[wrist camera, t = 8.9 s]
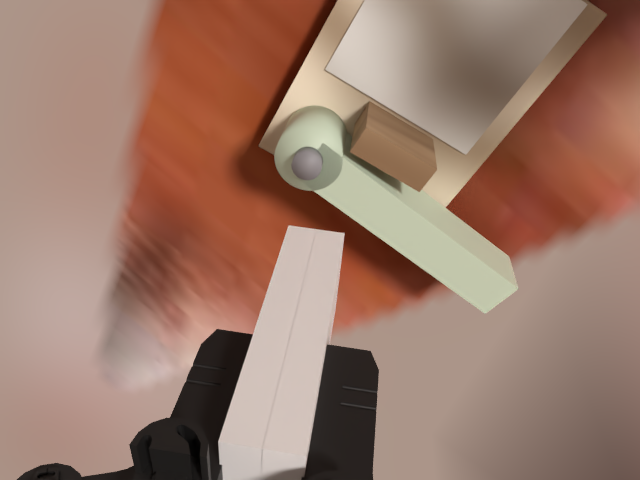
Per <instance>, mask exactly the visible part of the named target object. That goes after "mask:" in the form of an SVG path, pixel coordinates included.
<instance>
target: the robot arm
mask: <svg viewBox="0 0 640 480" xmlns="http://www.w3.org/2000/svg"><path fill="white" fill-rule="evenodd" d="M344 235H345V233H340V232H333V231H325V230H318V229H311V228H304V227H296V226H288V229H287V232H286V235H285V238H284V241H283V244H282V247H281V250H280V253H279V256H278V259H277V263H276V266H275V269H274V272H273V275H272V278H271V281H270V284H269V287H268V290H267V293H266V296H265V299H264V302H263V306H262V309H261V312H260V315H259V318H258V321H257V324H256V327H255V330H254V333H253V334H246V333H239V332H233V331H226V330H220V329H217V330H216V331H215V332H214V333H213V334H211V335H210V336H209V337H208V338H207V339H206V340H205V341H204V342H203V343H202V344H201V346H200V348H199V351H198V353H197V355H196V358H195V360H194V363H193V367H191V370H190V372H189V374H188V377H187V381H186V382H185V384H184V386H183V388H182V391H181V393H180V396H179V398H178V401H177V403H176V405H175V408H174V410H173V412H172V414H171V417H170V418H165V419H162V420H159V421H156V422H153V423H151V424H149V425H148V426H146V427H145V428H144V429H142V430H141V431H140V432H138V434H137V435H136V436H135V438H134V439H133V441H132V442H131V443H130V449H131V454H132V459H133V463H134V466H132V467H130V468H128V469H125V470H121V471H117V472H111V473H105V474H99V475H91V476H85V477H81V475H80V473H78V472H77V471H76V470H75V469H74V468H72V467H71V466H68V465H63V464H59V463H54V464H47V465H41V466H39V467H36V468H34V469H32V470H30V471H28V472H25V473H24V474H23V475H22V476H20V477H19V478H18V479H17V480H373V474H372V473H373V456H374V455H373V454H374V439H375V423H376V406H377V390H378V373H379V370H378V367H377V365H376V363H375V361H374V358H373V356H372V353H371V351H367V350H360V349H354V348H347V347H341V346H334V345H330V339H331V333H332V327H333V321H334V315H335V309H336V301H337V292H338V284H339V276H340V268H341V260H342V251H343V243H344Z"/></svg>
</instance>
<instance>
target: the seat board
mask: <svg viewBox="0 0 640 480" xmlns="http://www.w3.org/2000/svg"><path fill="white" fill-rule="evenodd" d="M606 16H607V14H606V13H605V12H603V11H602V10H600V9H599V8H597V7H596V6H595V5H593V4H592V3H590V2H589V1H588V0H337V2H336V4H335V5H334V7H333V9H332V11H331V13H330V15H329V17H328V18H327V20H326V22H325V24H324V26H323V28H322V29H321V31H320V33H319V35H318V37H317V39H316V40H315V42H314V44H313V46H312V48H311V50H310V51H309V53H308V55H307V57H306V59H305V61H304V62H303V64H302V66H301V68H300V70H299V72H298V73H297V75H296V77H295V79H294V81H293V83H292V84H291V86H290V88H289V90H288V92H287V94H286V95H285V97H284V99H283V101H282V103H281V105H280V106H279V108H278V110H277V112H276V114H275V116H274V117H273V119H272V121H271V123H270V125H269V127H268V128H267V130H266V132H265V134H264V136H263V138H262V140H261V142H260V144H259V145H258V146H259V147H260V148H262V149H264V150H266V151H268V152H269V153H271V154H273V155H274V154H275V149H276V146H277V144H278V142H279V140H280V137H281V135H282V133H283V131H284V128H285V126H286V124H287V122H288V120H289V118H290V117H291V116H292V115H293V114H294V113H295V112H296V111H297V110H299V109H301V108H303V107H306V106H314V105H316V106H323V107H326V108H328V109H330V110H332V111H334V112H335V113H336V114H337V115H339V117H340V118H341V119H342V121H343V122H344V124H345V126H346V129H347V133H348V134H349V135H351V136H352V142H351V148H350V152H351V153H352V154H354V155H356V156H358V157H359V158H361V159H363V160H364V161H366V162H368V163H370V164H371V165H373V166H375V167H377V168H378V169H380V170H382V171H383V172H385V173H387V174H389V175H390V176H392V177H394V178H396V179H397V180H399V181H401V182H402V183H404V184H406V185H408V186H409V187H411V188H413V189H415V190H416V191H418V192H420V191H421V190H423V191H424V192H425V193H427V194H428V195H429V196H430V197H432V198H433V199H434V200H436V201H437V202H438V203H440V204H441V205H442V206H444V207H445V208H446V206H447V205H448V204H449V203H450V202H451V200H452V199H453V198H454V197H455V196H456V195H457V193H458V192H459V191H460V190H461V189H462V187H463V186H464V185H465V184H466V183H467V181H468V180H469V179H470V178H471V177H472V175H473V174H474V173H475V172H476V171H477V170H478V168H479V167H480V166H481V165H482V164H483V162H484V161H485V160H486V159H487V158H488V156H489V155H490V154H491V153H492V152H493V150H494V149H495V148H496V147H497V146H498V145H499V143H500V142H501V141H502V140H503V139H504V137H505V136H506V135H507V134H508V133H509V131H510V130H511V129H512V128H513V127H514V125H515V124H516V123H517V122H518V121H519V120H520V118H521V117H522V116H523V115H524V114H525V112H526V111H527V110H528V109H529V108H530V106H531V105H532V104H533V103H534V102H535V100H536V99H537V98H538V97H539V96H540V94H541V93H542V92H543V91H544V90H545V89H546V87H547V86H548V85H549V84H550V83H551V81H552V80H553V79H554V78H555V77H556V75H557V74H558V73H559V72H560V71H561V69H562V68H563V67H564V66H565V65H566V64H567V62H568V61H569V60H570V59H571V58H572V56H573V55H574V54H575V53H576V52H577V50H578V49H579V48H580V47H581V46H582V44H583V43H584V42H585V41H586V40H587V39H588V37H589V36H590V35H591V34H592V33H593V31H594V30H595V29H596V28H597V27H598V25H599V24H600V23H601V22H602V21H603V19H604V18H605V17H606Z"/></svg>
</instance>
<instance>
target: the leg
mask: <svg viewBox="0 0 640 480" xmlns="http://www.w3.org/2000/svg"><path fill="white" fill-rule="evenodd" d="M351 142H352V136H351V135H349V134H348V133H347V129H346V126H345V124H344V122H343V121H342V119H341V118H340V117H339V115H337V114H336V113H335V112H334V111H332V110H330V109H328V108H326V107H323V106H316V105H314V106H306V107H303V108H301V109H299V110H297V111H296V112H295V113H294V114H293V115H292V116H291V117H290V118H289V120H288V122H287V124H286V126H285V128H284V131H283V133H282V135H281V137H280V140H279V142H278V144H277V146H276V149H275V154H274V160H275V165H276V168H277V170H278V172H279V174H280V175H281V177H282V178H283V179H284V180H285V181H286V182H287V183H289V184H290V185H292V186H293V187H296V188H298V189H301V190H307V191H314V192H316V193H317V194H318V195H320V196H321V197H323V198H324V199H325V200H327V201H328V202H330V203H331V204H332V205H334V206H335V207H337V208H338V209H339V210H341V211H342V212H344V213H345V214H346V215H348V216H349V217H351V218H352V219H353V220H355V221H356V222H358V223H359V224H360V225H362V226H363V227H365V228H366V229H367V230H369V231H370V232H372V233H373V234H374V235H376V236H377V237H379V238H380V239H381V240H383V241H384V242H386V243H387V244H388V245H390V246H391V247H393V248H394V249H395V250H397V251H398V252H399V253H401V254H402V255H404V256H405V257H406V258H408V259H409V260H411V261H412V262H413V263H415V264H416V265H418V266H419V267H420V268H422V269H423V270H425V271H426V272H427V273H429V274H430V275H432V276H433V277H434V278H436V279H437V280H439V281H440V282H441V283H443V284H444V285H446V286H447V287H448V288H450V289H451V290H453V291H454V292H455V293H457V294H458V295H460V296H461V297H462V298H464V299H465V300H467V301H468V302H469V303H471V304H472V305H474V306H475V307H476V308H478V309H479V310H480V311H482V312H483V313H485V314H486V313H487V312H488V311H490V310H491V309H492V308H494V307H495V306H496V305H498V304H499V303H500V302H502V301H503V300H504V299H506V298H507V297H508V296H510V295H511V294H512V293H513V292H515V291H516V290H518V285H517V282H516V279H515V275H514V271H513V268H512V265H511V261H510V258H509V256H508V255H506V254H505V253H504V252H502V251H501V250H500V249H498V248H497V247H496V246H495V245H493V244H492V243H491V242H489V241H488V240H487V239H485V238H484V237H483V236H481V235H480V234H479V233H478V232H476V231H475V230H474V229H472V228H471V227H470V226H468V225H467V224H466V223H464V222H463V221H462V220H461V219H459V218H458V217H457V216H455V215H454V214H453V213H451V212H450V211H449V210H447V209H446V208H445V207H444V206H442V205H441V204H440V203H438V202H437V201H436V200H434V199H433V198H432V197H430V196H429V195H428V194H427V193H425V192H424V191H423V190H421V191H420V192H418V191H416V190H415V189H413V188H411V187H409V186H408V185H406V184H404V183H402V182H401V181H399V180H397V179H396V178H394V177H392V176H390V175H389V174H387V173H385V172H383V171H382V170H380V169H378V168H377V167H375V166H373V165H371V164H370V163H368V162H366V161H364V160H363V159H361V158H359V157H358V156H356V155H354V154H352V153H351V152H350V148H351Z"/></svg>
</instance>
